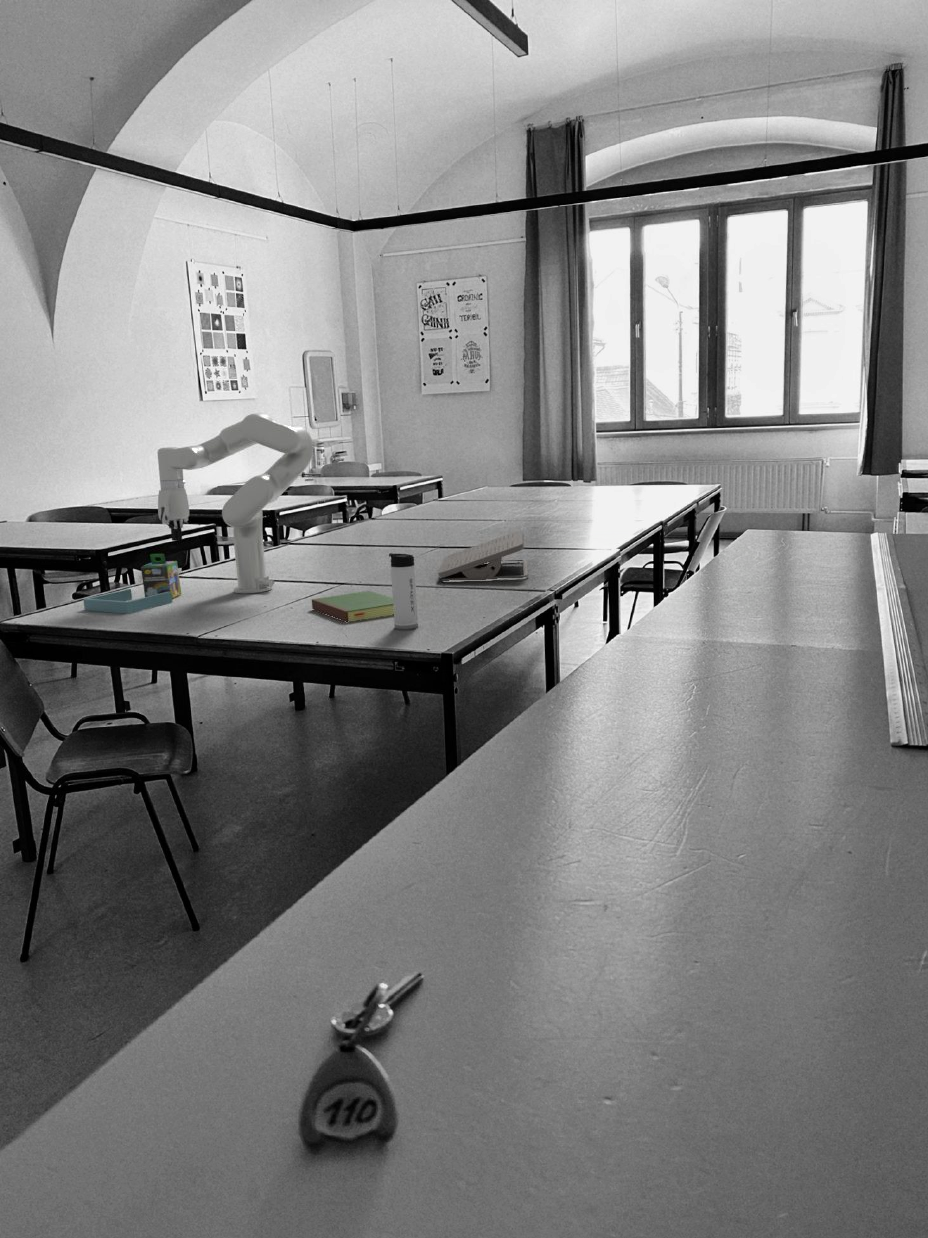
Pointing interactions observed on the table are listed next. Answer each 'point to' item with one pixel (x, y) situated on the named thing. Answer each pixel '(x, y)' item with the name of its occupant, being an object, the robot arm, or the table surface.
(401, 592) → the travel mug
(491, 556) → the foot rest
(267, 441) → the robot arm
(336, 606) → the hardcover book
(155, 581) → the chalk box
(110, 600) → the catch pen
